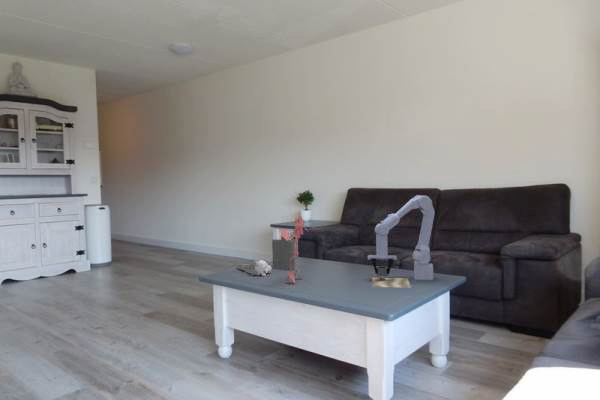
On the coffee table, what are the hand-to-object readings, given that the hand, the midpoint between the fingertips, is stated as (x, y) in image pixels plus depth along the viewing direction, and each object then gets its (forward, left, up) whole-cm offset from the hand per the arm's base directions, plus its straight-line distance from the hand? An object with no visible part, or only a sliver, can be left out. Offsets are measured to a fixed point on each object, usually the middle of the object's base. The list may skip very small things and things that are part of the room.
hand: (382, 273), depth 218 cm
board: (-4, +5, -4) cm, 8 cm away
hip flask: (+58, -30, -5) cm, 65 cm away
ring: (0, 0, -1) cm, 1 cm away
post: (0, 0, -4) cm, 4 cm away
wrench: (+78, -18, -5) cm, 80 cm away
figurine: (+42, +3, -5) cm, 42 cm away
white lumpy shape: (+66, -13, -5) cm, 67 cm away
